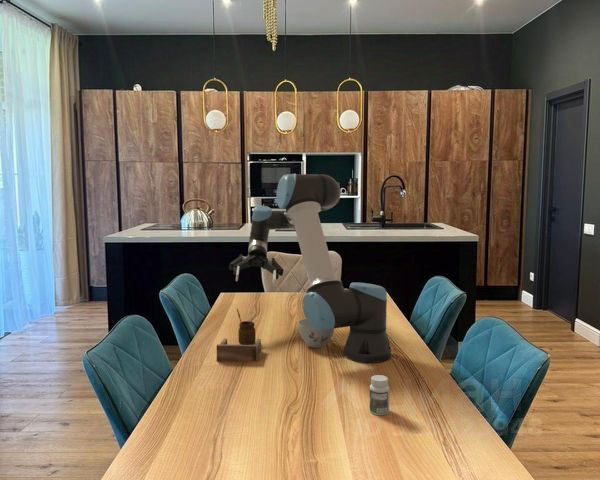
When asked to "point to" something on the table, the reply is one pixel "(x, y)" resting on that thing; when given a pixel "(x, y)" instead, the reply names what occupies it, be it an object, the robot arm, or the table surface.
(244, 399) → the table surface
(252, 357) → the walnut corral
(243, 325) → the utensil holder
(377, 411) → the pill bottle
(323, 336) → the teacup
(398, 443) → the table surface
